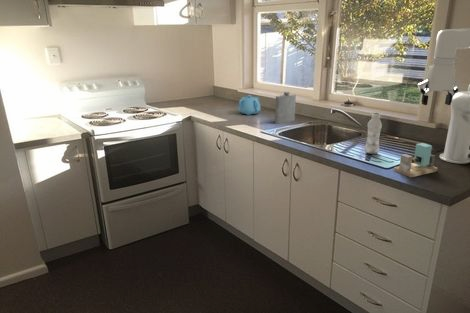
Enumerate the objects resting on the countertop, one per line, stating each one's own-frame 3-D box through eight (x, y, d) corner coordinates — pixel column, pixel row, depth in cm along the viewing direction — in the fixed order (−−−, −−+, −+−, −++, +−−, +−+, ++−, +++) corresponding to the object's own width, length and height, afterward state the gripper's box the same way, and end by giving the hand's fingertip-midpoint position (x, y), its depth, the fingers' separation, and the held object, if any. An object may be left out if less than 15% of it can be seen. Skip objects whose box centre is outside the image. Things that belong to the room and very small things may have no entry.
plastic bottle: (373, 156, 176) (378, 115, 170) (361, 153, 182) (366, 113, 175) (381, 154, 180) (386, 113, 174) (369, 150, 185) (374, 111, 179)
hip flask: (292, 119, 250) (293, 90, 243) (296, 120, 247) (297, 91, 240) (274, 122, 242) (274, 92, 235) (277, 124, 239) (279, 93, 232)
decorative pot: (235, 115, 264) (235, 96, 260) (241, 110, 279) (241, 92, 274) (257, 116, 260) (258, 97, 256) (262, 111, 275) (262, 93, 270)
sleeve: (419, 161, 161) (422, 142, 159) (428, 164, 158) (432, 145, 155) (413, 163, 160) (416, 144, 157) (422, 166, 156) (425, 147, 153)
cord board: (418, 164, 165) (421, 147, 163) (437, 171, 158) (440, 153, 155) (393, 170, 159) (395, 153, 156) (410, 177, 151) (413, 159, 149)
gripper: (459, 61, 151) (451, 103, 156) (417, 61, 151) (411, 102, 157) (470, 63, 144) (461, 106, 149) (426, 63, 144) (419, 106, 149)
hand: (435, 104), depth 153 cm, fingers open, 9 cm apart
